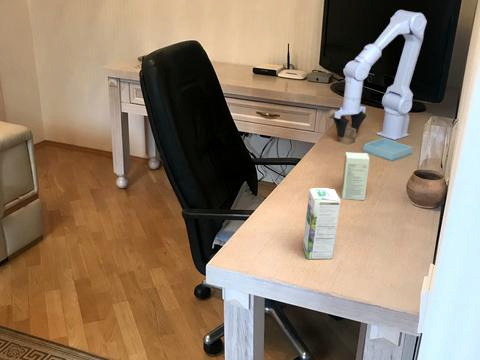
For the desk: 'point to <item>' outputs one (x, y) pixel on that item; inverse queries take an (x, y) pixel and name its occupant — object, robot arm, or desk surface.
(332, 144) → the desk surface
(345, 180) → the skincare box
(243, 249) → the desk surface
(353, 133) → the walnut block
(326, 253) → the syrup box
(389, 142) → the tray
